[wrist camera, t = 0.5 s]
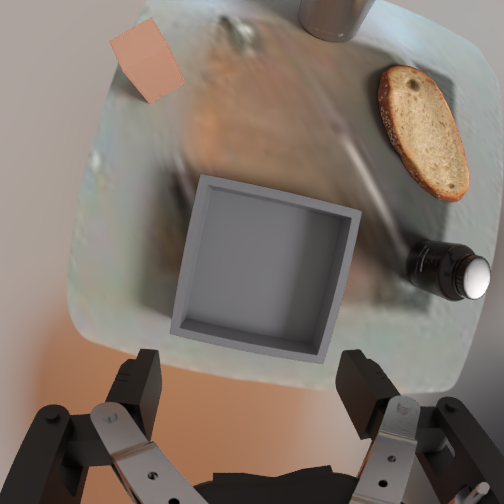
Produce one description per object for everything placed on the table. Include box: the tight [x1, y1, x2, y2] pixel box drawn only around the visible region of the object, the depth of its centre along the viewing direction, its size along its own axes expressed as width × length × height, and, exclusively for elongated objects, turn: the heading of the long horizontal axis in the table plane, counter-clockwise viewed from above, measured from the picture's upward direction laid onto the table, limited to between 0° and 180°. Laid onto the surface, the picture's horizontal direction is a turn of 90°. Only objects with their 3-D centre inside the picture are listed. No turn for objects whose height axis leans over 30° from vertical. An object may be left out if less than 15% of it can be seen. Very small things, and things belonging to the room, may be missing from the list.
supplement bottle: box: [407, 240, 491, 301], centre depth 32 cm, size 7×7×12 cm
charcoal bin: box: [170, 174, 362, 364], centre depth 36 cm, size 18×18×5 cm
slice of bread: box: [378, 65, 469, 202], centre depth 35 cm, size 18×18×4 cm
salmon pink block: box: [110, 18, 186, 104], centre depth 31 cm, size 6×6×10 cm
